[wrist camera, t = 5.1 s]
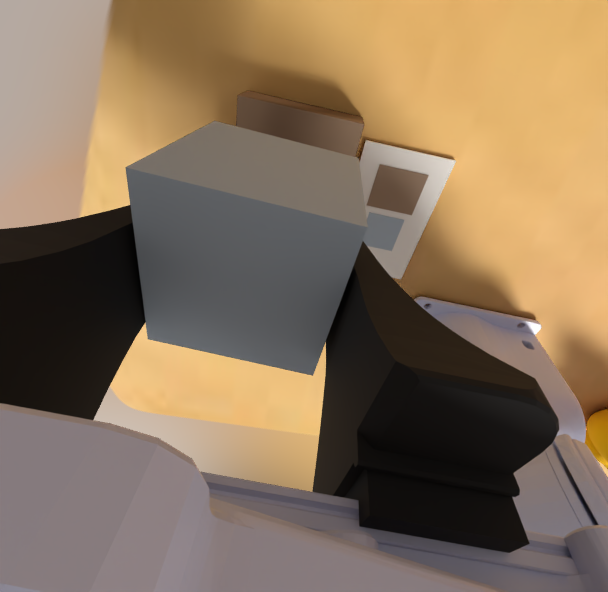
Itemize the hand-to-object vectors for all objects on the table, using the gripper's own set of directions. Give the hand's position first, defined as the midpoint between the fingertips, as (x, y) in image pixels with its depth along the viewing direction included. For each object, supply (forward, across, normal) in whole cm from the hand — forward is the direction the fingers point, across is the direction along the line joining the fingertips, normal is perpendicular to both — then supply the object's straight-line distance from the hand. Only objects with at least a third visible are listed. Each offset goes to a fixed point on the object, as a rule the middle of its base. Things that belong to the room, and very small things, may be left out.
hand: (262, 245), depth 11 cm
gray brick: (+2, 0, 0) cm, 2 cm away
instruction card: (+10, -6, +2) cm, 11 cm away
